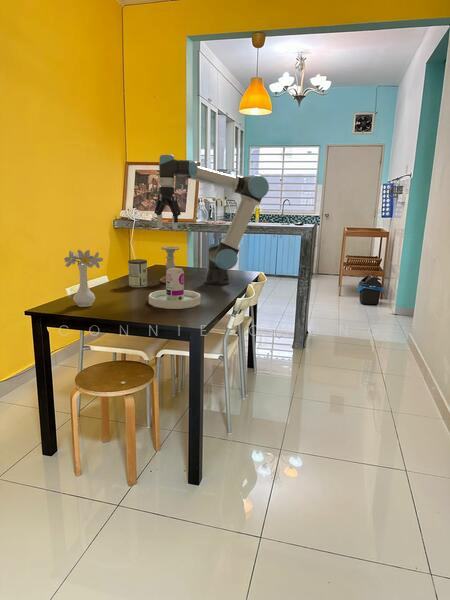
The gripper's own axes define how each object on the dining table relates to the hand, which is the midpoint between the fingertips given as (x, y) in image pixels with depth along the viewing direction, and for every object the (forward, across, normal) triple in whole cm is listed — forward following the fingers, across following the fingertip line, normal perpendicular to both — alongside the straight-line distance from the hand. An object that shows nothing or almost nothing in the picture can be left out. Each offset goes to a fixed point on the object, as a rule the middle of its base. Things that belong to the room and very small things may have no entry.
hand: (167, 228), depth 216 cm
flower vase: (+33, +7, -50) cm, 61 cm away
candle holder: (+33, -15, +13) cm, 38 cm away
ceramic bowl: (+32, +27, -15) cm, 45 cm away
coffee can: (+33, -16, -9) cm, 38 cm away
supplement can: (+32, +27, -15) cm, 44 cm away
